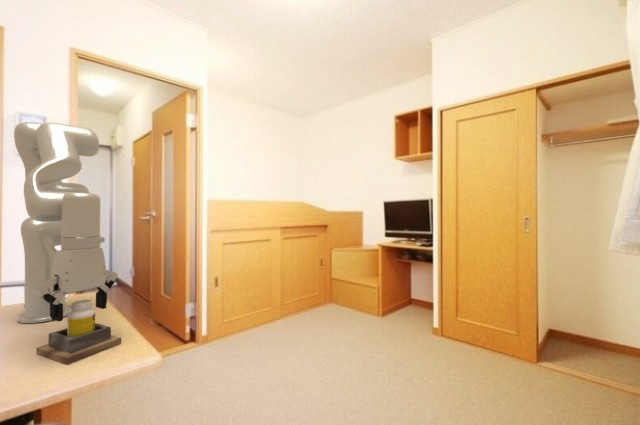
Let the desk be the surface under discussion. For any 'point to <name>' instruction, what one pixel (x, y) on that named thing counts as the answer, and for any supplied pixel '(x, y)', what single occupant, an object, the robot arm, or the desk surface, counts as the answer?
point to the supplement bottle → (81, 319)
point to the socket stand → (78, 344)
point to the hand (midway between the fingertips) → (80, 313)
